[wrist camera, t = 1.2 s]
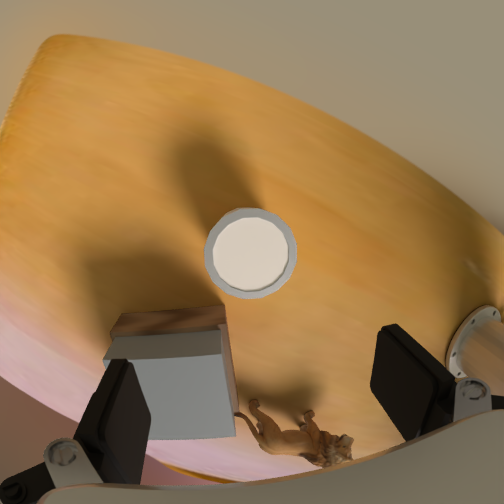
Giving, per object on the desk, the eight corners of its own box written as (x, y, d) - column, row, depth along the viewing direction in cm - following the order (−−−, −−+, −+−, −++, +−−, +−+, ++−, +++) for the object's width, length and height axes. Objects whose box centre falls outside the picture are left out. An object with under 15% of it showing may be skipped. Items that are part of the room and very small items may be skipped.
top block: (220, 329, 26) (221, 354, 22) (233, 409, 29) (236, 436, 25) (115, 336, 25) (102, 360, 21) (142, 413, 28) (136, 439, 24)
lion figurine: (342, 404, 36) (367, 451, 27) (327, 431, 37) (347, 476, 28) (235, 395, 33) (241, 451, 24) (225, 424, 34) (229, 477, 26)
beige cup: (199, 210, 28) (192, 221, 21) (271, 193, 28) (288, 198, 21) (217, 279, 29) (217, 309, 23) (285, 262, 30) (304, 287, 23)
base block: (224, 303, 30) (226, 323, 26) (236, 386, 33) (239, 412, 29) (122, 312, 30) (109, 332, 25) (147, 392, 32) (140, 416, 28)
